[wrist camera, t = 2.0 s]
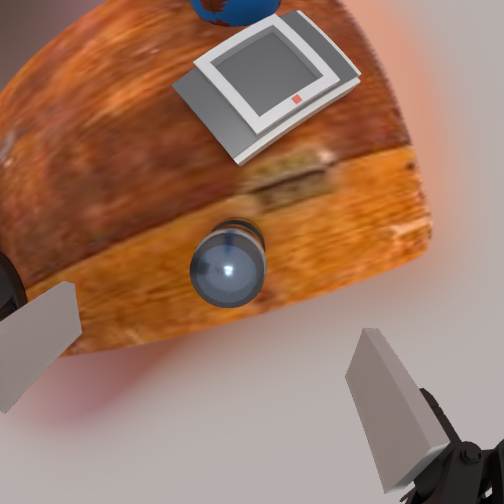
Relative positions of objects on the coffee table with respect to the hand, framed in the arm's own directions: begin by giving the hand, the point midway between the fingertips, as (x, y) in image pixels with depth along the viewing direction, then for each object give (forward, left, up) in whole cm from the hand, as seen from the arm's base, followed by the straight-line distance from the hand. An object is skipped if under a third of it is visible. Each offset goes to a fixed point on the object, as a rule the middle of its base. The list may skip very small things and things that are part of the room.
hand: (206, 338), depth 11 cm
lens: (0, 0, -18) cm, 18 cm away
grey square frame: (+12, +11, -18) cm, 24 cm away
